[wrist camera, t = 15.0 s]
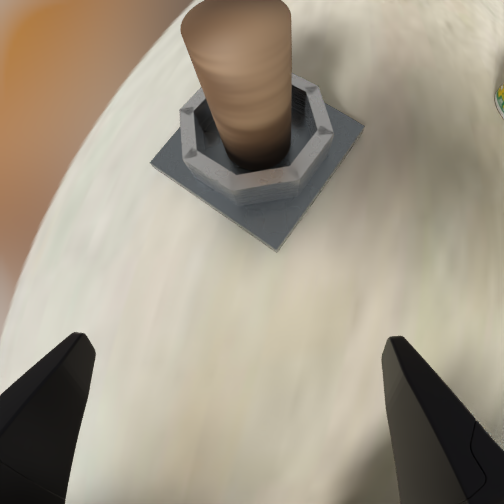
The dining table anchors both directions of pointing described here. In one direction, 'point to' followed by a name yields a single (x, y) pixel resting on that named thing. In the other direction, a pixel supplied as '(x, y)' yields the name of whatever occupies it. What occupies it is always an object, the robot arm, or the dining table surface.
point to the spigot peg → (245, 75)
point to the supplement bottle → (500, 100)
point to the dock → (260, 181)
